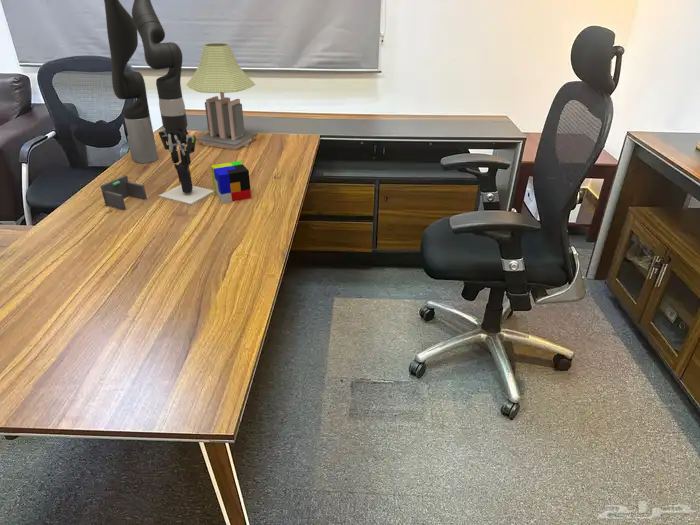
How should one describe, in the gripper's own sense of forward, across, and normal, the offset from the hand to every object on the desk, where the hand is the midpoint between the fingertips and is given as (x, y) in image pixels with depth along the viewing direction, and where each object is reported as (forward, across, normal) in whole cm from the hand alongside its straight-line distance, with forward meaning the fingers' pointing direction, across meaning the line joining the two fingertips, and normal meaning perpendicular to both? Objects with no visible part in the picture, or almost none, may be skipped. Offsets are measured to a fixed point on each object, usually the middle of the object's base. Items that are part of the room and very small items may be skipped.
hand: (181, 163), depth 163 cm
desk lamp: (+12, -23, +52) cm, 58 cm away
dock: (+11, -13, -14) cm, 22 cm away
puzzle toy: (+11, +14, +7) cm, 19 cm away
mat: (+11, 0, 0) cm, 11 cm away
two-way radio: (+10, 0, 0) cm, 10 cm away
